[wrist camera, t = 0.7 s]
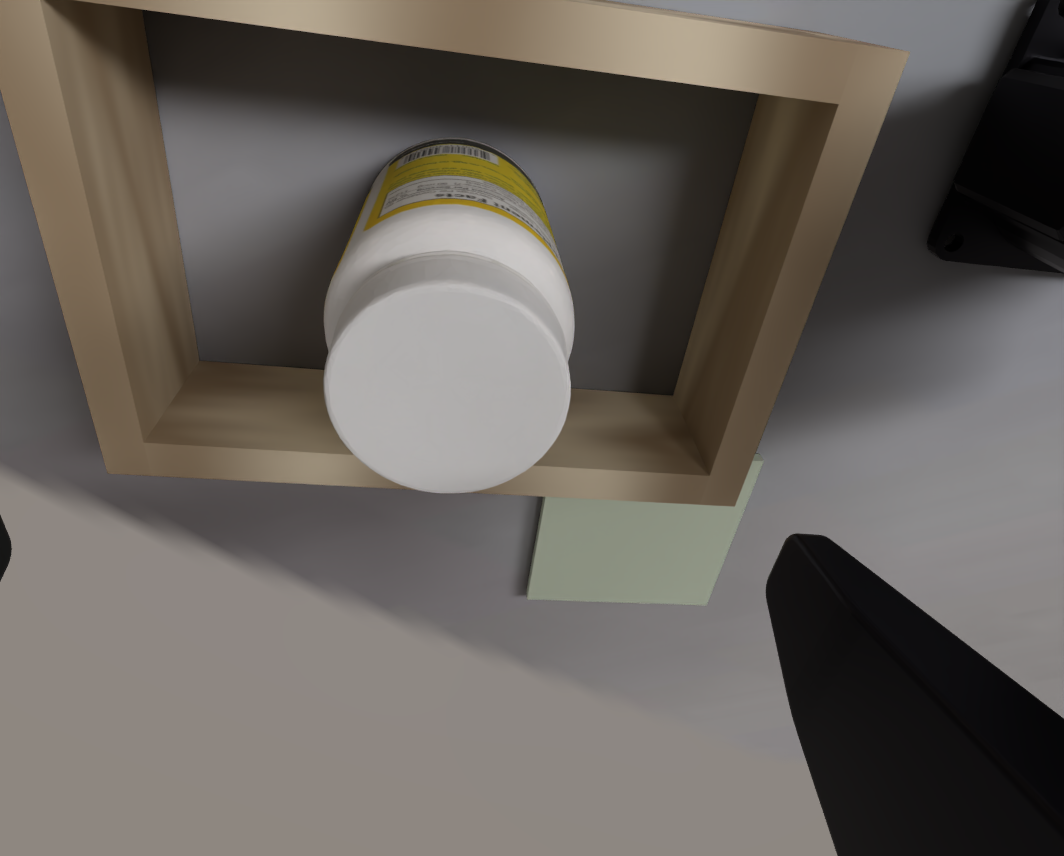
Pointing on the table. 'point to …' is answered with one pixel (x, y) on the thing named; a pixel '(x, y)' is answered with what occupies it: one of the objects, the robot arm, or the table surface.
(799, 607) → the robot arm
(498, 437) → the supplement bottle
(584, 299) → the table surface
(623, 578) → the sage mat
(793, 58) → the wooden box
